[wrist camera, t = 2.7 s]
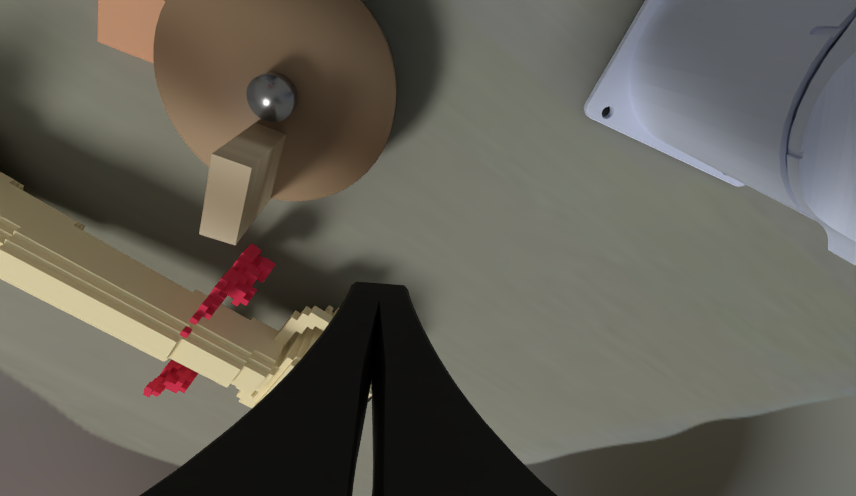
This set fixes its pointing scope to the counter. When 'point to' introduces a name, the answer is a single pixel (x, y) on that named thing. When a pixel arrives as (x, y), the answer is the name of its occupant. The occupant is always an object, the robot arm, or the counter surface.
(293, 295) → the counter surface
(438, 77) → the counter surface
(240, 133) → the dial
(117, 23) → the salmon square tile
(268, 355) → the toy vehicle
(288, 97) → the pivot pin
